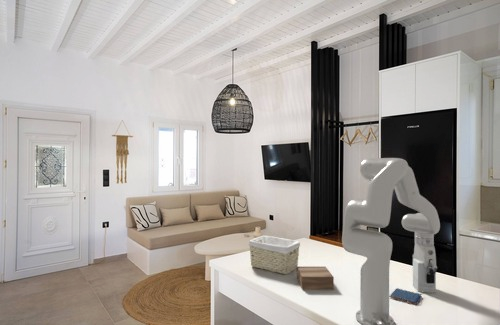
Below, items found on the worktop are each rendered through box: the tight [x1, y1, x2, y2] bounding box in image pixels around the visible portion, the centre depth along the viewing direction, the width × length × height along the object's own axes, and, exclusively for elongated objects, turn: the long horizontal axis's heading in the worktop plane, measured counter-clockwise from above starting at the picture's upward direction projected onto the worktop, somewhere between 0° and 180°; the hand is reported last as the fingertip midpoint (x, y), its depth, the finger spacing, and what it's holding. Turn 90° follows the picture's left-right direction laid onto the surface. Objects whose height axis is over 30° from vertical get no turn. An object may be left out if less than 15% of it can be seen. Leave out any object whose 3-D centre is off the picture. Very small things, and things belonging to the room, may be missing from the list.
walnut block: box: [296, 266, 335, 291], centre depth 143 cm, size 14×14×6 cm
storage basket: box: [248, 235, 301, 275], centre depth 166 cm, size 24×16×15 cm
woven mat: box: [389, 287, 423, 306], centre depth 129 cm, size 10×11×2 cm
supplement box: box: [412, 258, 437, 294], centre depth 138 cm, size 7×7×13 cm
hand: (424, 279), depth 138 cm, fingers open, 9 cm apart
